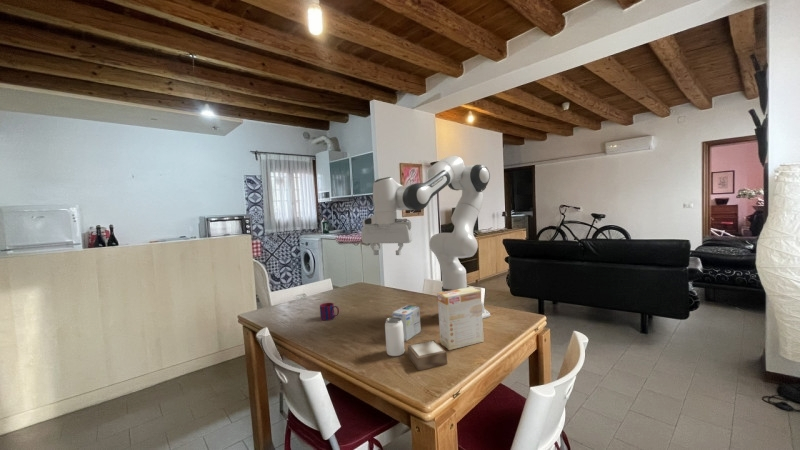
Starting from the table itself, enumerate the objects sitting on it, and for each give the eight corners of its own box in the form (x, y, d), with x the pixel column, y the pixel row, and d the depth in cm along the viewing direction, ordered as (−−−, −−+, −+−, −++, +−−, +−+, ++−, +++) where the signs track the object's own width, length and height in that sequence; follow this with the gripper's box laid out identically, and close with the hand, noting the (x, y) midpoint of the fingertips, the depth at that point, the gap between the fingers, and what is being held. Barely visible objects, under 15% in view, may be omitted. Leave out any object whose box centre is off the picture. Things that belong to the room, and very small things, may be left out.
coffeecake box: (473, 335, 121) (470, 286, 120) (484, 342, 114) (481, 290, 113) (439, 343, 116) (436, 292, 115) (449, 350, 109) (445, 296, 108)
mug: (327, 315, 157) (326, 302, 156) (342, 317, 152) (341, 303, 152) (317, 319, 151) (316, 306, 151) (333, 322, 146) (332, 308, 146)
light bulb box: (408, 328, 132) (406, 304, 131) (421, 331, 128) (419, 306, 127) (393, 338, 123) (391, 311, 123) (407, 341, 119) (405, 314, 119)
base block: (434, 351, 110) (433, 339, 109) (447, 363, 100) (446, 351, 100) (408, 356, 107) (407, 344, 106) (418, 370, 97) (417, 357, 97)
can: (402, 357, 107) (400, 323, 106) (384, 356, 108) (382, 323, 107) (406, 348, 113) (404, 316, 112) (389, 348, 114) (386, 316, 114)
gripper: (413, 218, 118) (415, 253, 119) (366, 220, 126) (367, 253, 126) (407, 218, 112) (409, 256, 113) (358, 220, 120) (360, 255, 120)
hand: (387, 254), depth 120 cm, fingers open, 8 cm apart
